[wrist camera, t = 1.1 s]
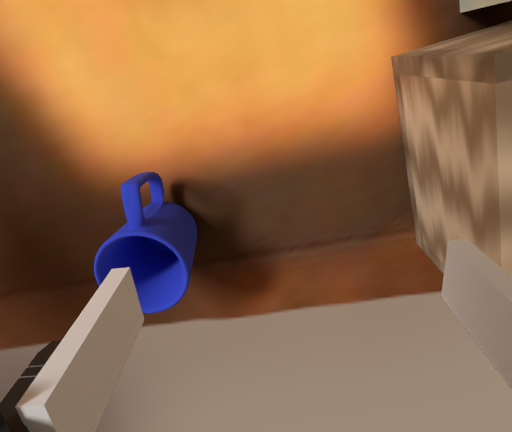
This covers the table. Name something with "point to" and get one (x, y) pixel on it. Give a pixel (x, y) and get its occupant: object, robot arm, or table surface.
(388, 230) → the table surface
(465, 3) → the door
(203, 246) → the table surface
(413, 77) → the cabinet
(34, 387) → the robot arm
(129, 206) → the mug
